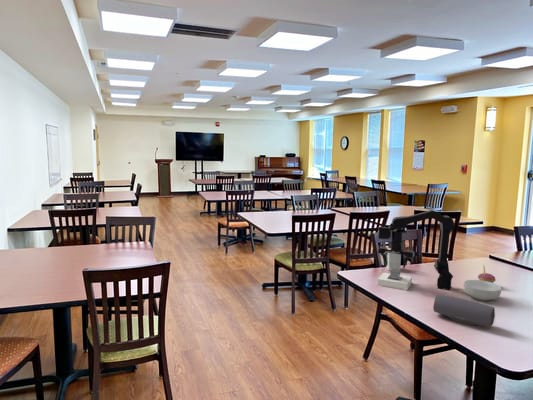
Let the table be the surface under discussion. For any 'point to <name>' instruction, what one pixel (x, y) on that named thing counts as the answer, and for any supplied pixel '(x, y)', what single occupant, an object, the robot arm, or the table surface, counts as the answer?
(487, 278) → the cupcake
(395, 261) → the white rectangular block
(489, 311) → the bluetooth speaker
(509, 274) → the table surface
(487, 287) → the cereal bowl
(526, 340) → the table surface
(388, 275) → the square frame
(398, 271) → the dark grey square post
